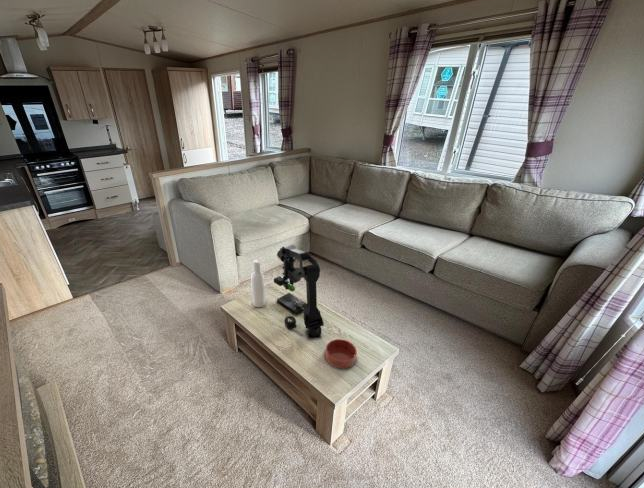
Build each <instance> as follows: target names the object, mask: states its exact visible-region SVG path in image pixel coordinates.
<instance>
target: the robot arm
mask: <svg viewBox="0 0 644 488" xmlns="http://www.w3.org/2000/svg"><path fill="white" fill-rule="evenodd" d="M276 256H277V258H278V259H279V260H280V261H281V262H282V263H283V266H281V268H282V269H283V272H282V273H281V274H282V275H283V276H280V275H277V277H274V278H273V283H274V284H275V285H278V286H279V287H282V286H283V285H284V286H283V288H284V289H285V290H286V291H288V283H290V284H292V285H293V286H294V284H297V283H298V282H300V281H301V279H304V281H305V284H306V304H307V307H306V308H304V311H303V322H304V327H305V329H306V333H307V338H308V339H320V338H322V336H321V335H322V327H323V326H324V325H325V323H324V320H323V317H322V315H321V311H320V309H319V308H318V299H317V297H318V296H317V294H318V293H317V282H318V281H319V278H320V274H321V267H320V265H319V263H318V261H317V260H316V259H315V258H313V257H312V256H311V254H310V253H309V251H304V250H301V249H299V248H297V247H296V245H294V244H288V245H283V246H282V247H280V248H279V250H278V251H277V253H276ZM296 260H298V261H299V266H297V267H295V262H296ZM304 261H307V262H309V263H310V264H309V265H305V266H303V262H304Z"/></svg>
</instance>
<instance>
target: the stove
mask: <svg viewBox="0 0 644 488" xmlns="http://www.w3.org/2000/svg"><path fill="white" fill-rule="evenodd" d="M296 299H299V298H298V297H297V296H295V295H294V294H292V293H290V292H287V293H286V294H284V295H281V296H279V297H278V298H277V299H276V303H277V304H279V305H280V306H281V307H283V308H284V309H286V310H287V311H289V312H290V313H292V314H293V315H295V316H296V317H297V316H298V315H300V314H301V313H304V308H306V307H307V302H305V301H304V300H302V308H296Z"/></svg>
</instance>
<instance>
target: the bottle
mask: <svg viewBox="0 0 644 488" xmlns="http://www.w3.org/2000/svg"><path fill="white" fill-rule="evenodd" d="M260 265H261V263H260V260H259V259H254V260H253V261H252V267H253V272H252V273H251V275H250V285H251V286H250V287H251V295H252V296H251V297H252V305H253V306H254V307H255V308H263V307H264V306H266V301H267V300H266V286H265V274H264V273H263V272H262V271H261V266H260Z"/></svg>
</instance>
